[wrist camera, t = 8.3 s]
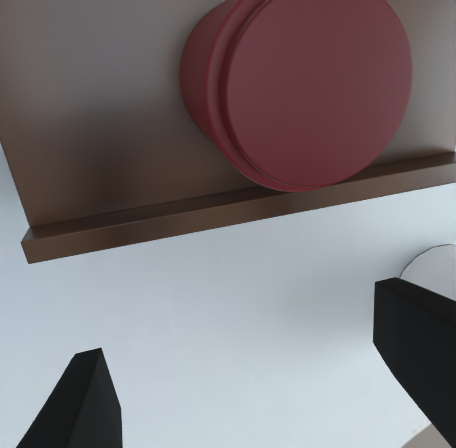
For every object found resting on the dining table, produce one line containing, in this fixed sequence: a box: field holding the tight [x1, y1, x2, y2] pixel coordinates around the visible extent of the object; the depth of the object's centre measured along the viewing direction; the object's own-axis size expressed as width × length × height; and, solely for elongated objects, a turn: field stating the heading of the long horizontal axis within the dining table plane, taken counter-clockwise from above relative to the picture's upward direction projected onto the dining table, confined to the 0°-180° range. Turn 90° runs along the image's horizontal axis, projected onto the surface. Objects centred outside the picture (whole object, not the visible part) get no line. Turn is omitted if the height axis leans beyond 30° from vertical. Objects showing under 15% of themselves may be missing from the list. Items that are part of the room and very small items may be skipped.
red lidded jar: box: [179, 0, 412, 192], centre depth 11 cm, size 5×5×6 cm
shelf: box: [0, 0, 456, 264], centre depth 15 cm, size 16×9×6 cm, turn 97°
